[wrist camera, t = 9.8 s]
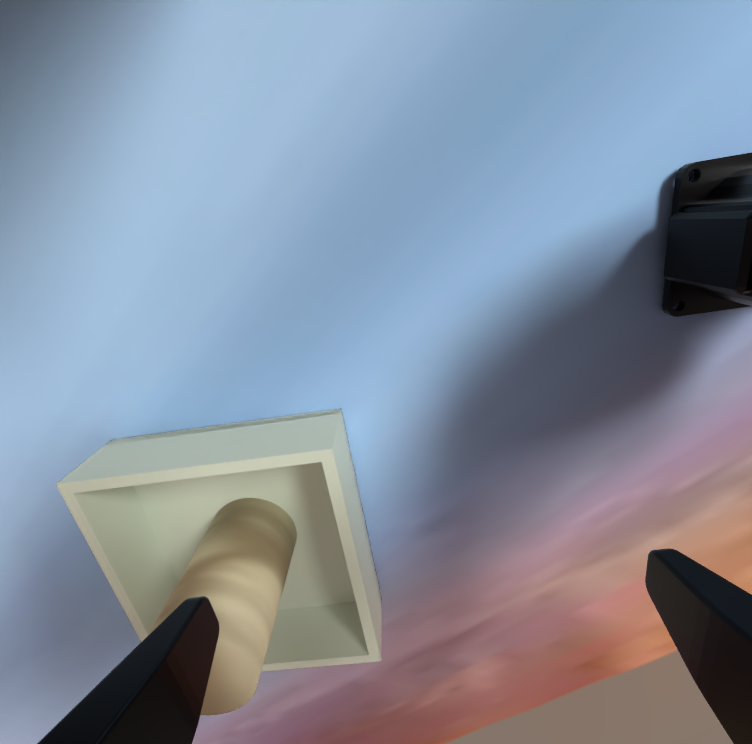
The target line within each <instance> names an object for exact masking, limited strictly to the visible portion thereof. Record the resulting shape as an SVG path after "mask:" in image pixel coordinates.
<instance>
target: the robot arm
mask: <svg viewBox="0 0 752 744" xmlns="http://www.w3.org/2000/svg"><path fill="white" fill-rule="evenodd" d="M691 171H693V172H694V177H693V179H692V180H691V182H690V181H689V180H688V175H689V173H690V172H691ZM664 276H665V284H664V294H663V304H662V308H663V311H664V312H665V313H666V314H668V315H671V316H685V315H692V314H699V313H706V312H712V311H719V310H726V309H733V308H740V307H747V306H752V153H747V154H741V155H735V156H729V157H723V158H718V159H712V160H706V161H700V162H694V163H689V164H686V165H684V166H683V167H682V168H680V169H679V171H678V172H677V174H676V178H675V186H674V196H673V206H672V216H671V219H670V220H669V228H668V238H667V248H666V258H665V268H664ZM677 301H679V305H678V307H677V308H676V309H674V308H673V307H674V304H675V303H676V302H677ZM645 582H646V588H647V591H648V593H649V595H650V597H651V599H652V601H653V603H654V605H655V607H656V609H657V611H658V613H659V615H660V617H661V618H662V620H663V622H664V624H665V626H666V628H667V630H668V632H669V634H670V636H671V638H672V639H673V641H674V643H675V645H676V647H677V649H678V651H679V653H680V655H681V657H682V659H683V661H684V662H685V664H686V666H687V668H688V670H689V672H690V673H691V675H692V677H693V679H694V681H695V683H696V684H697V686H698V688H699V689H700V691H701V693H702V694H703V696H704V698H705V699H706V701H707V702H708V704H709V705H710V707H711V708H712V710H713V712H714V713H715V715H716V717H717V718H718V720H719V721H720V723H721V724H722V726H723V728H724V729H725V731H726V732H727V734H728V735H729V737H730V738H731V740H732V742H733V743H734V744H752V595H751V594H749V593H748V592H746V591H744V590H743V589H741V588H739V587H738V586H736V585H734V584H733V583H731V582H729V581H728V580H726V579H724V578H723V577H721V576H719V575H718V574H716V573H714V572H712V571H711V570H709V569H707V568H706V567H704V566H702V565H701V564H699V563H697V562H696V561H694V560H692V559H691V558H689V557H687V556H686V555H684V554H682V553H680V552H679V551H677V550H674V549H660V550H652V551H651V552H650V553H649V555H648V562H647V570H646V579H645ZM218 637H219V621H218V619H217V617H216V614H215V612H214V609H213V607H212V605H211V602H210V600H209V599H208V598H207V597H206V596H200V597H191V598H188V599H186V600H184V601H183V602H182V603H181V604H180V605H179V606H178V607H177V608H176V609H175V610H174V611H173V612H172V613H171V614H170V615H169V616H168V617H167V618H166V619H165V620H164V621H163V622H162V623H161V624H159V625H158V626H157V627H156V628H155V629H154V630H153V631H152V632H151V633H150V634H149V635H148V636H147V637H146V638H145V639H144V640H143V641H142V642H141V643H140V644H139V645H138V646H137V647H136V648H135V649H134V650H133V651H132V652H131V653H130V654H129V655H128V656H127V657H126V658H125V659H124V660H123V661H122V662H121V663H120V664H119V665H117V666H116V667H115V668H114V669H113V670H112V671H111V672H110V673H109V674H108V675H107V676H106V677H105V678H104V679H103V680H102V681H101V682H100V683H99V684H98V685H97V686H96V687H95V688H94V689H93V690H92V691H91V692H90V693H89V694H88V695H87V696H86V697H85V698H84V699H83V700H82V701H81V702H80V703H79V704H78V705H77V706H75V707H74V708H73V709H72V710H71V711H70V712H69V713H68V714H67V715H66V716H65V717H64V718H63V719H62V720H61V721H60V722H59V723H58V724H57V725H56V726H55V727H54V728H53V729H52V730H51V731H50V732H49V733H48V734H47V735H46V736H45V737H44V738H43V739H42V740H41V741H40V742H39V743H38V744H192V741H193V738H194V735H195V732H196V728H197V725H198V722H199V718H200V714H201V710H202V706H203V702H204V698H205V693H206V689H207V685H208V680H209V676H210V672H211V667H212V663H213V659H214V654H215V650H216V646H217V641H218Z"/></svg>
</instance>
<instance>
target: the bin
mask: <svg viewBox="0 0 752 744" xmlns="http://www.w3.org/2000/svg"><path fill="white" fill-rule="evenodd" d="M56 486H57V488H58V489H59V491H60V493H61V495H62V497H63V499H64V501H65V502H66V504H67V506H68V508H69V510H70V512H71V513H72V515H73V517H74V519H75V521H76V523H77V524H78V526H79V528H80V530H81V532H82V534H83V536H84V537H85V539H86V541H87V543H88V545H89V547H90V548H91V550H92V552H93V554H94V556H95V558H96V559H97V561H98V563H99V565H100V567H101V569H102V571H103V572H104V574H105V576H106V578H107V580H108V582H109V583H110V585H111V587H112V589H113V591H114V593H115V594H116V596H117V598H118V600H119V602H120V604H121V605H122V607H123V609H124V611H125V613H126V615H127V617H128V618H129V620H130V622H131V624H132V626H133V628H134V629H135V631H136V633H137V635H138V637H139V639H140V640H141V642H142V641H143V640H144V639H145V638H146V637H147V636H148V634H149V632H150V631H151V629H152V627H153V625H154V624H155V622H156V620H157V618H158V617H159V615H160V613H161V611H162V610H163V608H164V606H165V604H166V603H167V601H168V599H169V597H170V595H171V594H172V592H173V590H174V588H175V587H176V585H177V583H178V581H179V580H180V578H181V576H182V574H183V573H184V571H185V569H186V567H187V566H188V564H189V562H190V560H191V559H192V557H193V555H194V553H195V552H196V550H197V548H198V546H199V545H200V543H201V541H202V539H203V538H204V536H205V534H206V532H207V531H208V529H209V527H210V525H211V523H212V522H213V520H214V518H215V516H216V515H217V513H218V512H219V510H220V509H221V508H222V507H223V506H225V505H226V504H228V503H230V502H232V501H234V500H237V499H242V498H259V499H263V500H267V501H270V502H272V503H274V504H276V505H278V506H279V507H281V508H282V509H283V510H285V511H286V512H287V513H288V514H289V515H290V517H291V518H292V520H293V522H294V524H295V526H296V530H297V540H296V544H295V547H294V551H293V555H292V558H291V562H290V566H289V570H288V573H287V577H286V581H285V585H284V588H283V592H282V596H281V599H280V603H279V607H278V611H277V614H276V618H275V622H274V626H273V629H272V633H271V637H270V640H269V644H268V648H267V652H266V655H265V659H264V663H263V666H262V670H261V672H263V671H274V670H286V669H298V668H309V667H321V666H332V665H344V664H356V663H367V662H379V661H381V604H382V598H381V593H380V589H379V584H378V579H377V574H376V570H375V565H374V560H373V556H372V551H371V546H370V541H369V537H368V532H367V527H366V523H365V518H364V513H363V508H362V504H361V499H360V494H359V490H358V485H357V480H356V475H355V471H354V466H353V461H352V457H351V452H350V447H349V442H348V438H347V433H346V428H345V424H344V419H343V414H342V409H334V410H327V411H319V412H312V413H305V414H297V415H290V416H282V417H275V418H268V419H260V420H253V421H246V422H238V423H231V424H224V425H216V426H209V427H202V428H194V429H187V430H179V431H172V432H165V433H157V434H150V435H143V436H135V437H128V438H121V439H113V440H110V441H109V442H108V443H107V444H105V445H104V446H103V447H102V448H100V449H99V450H98V451H97V452H95V453H94V454H93V455H92V456H90V457H89V458H88V459H87V460H85V461H84V462H83V463H82V464H80V465H79V466H78V467H77V468H75V469H74V470H73V471H72V472H70V473H69V474H68V475H67V476H65V477H64V478H63V479H62V480H60V481H59V482H58V483H57V484H56Z"/></svg>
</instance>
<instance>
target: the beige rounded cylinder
mask: <svg viewBox="0 0 752 744" xmlns="http://www.w3.org/2000/svg"><path fill="white" fill-rule="evenodd" d="M296 540H297V530H296V526H295V524H294V522H293V520H292V518H291V517H290V515H289V514H288V513H287V512H286V511H285V510H283V509H282V508H281V507H279V506H278V505H276V504H274V503H272V502H270V501H267V500H263V499H259V498H242V499H237V500H234V501H232V502H230V503H228V504H226V505H225V506H223V507H222V508H221V509H220V510H219V512H218V513H217V515H216V516H215V518H214V520H213V522H212V523H211V525H210V527H209V529H208V531H207V532H206V534H205V536H204V538H203V539H202V541H201V543H200V545H199V546H198V548H197V550H196V552H195V553H194V555H193V557H192V559H191V560H190V562H189V564H188V566H187V567H186V569H185V571H184V573H183V574H182V576H181V578H180V580H179V581H178V583H177V585H176V587H175V588H174V590H173V592H172V594H171V595H170V597H169V599H168V601H167V603H166V604H165V606H164V608H163V610H162V611H161V613H160V615H159V617H158V618H157V620H156V622H155V624H154V625H153V627H152V629H151V631H150V632H149V634H150V633H151V632H152V631H153V630H154V629H155V628H156V627H157V626H158V625H159V624H161V623H162V622H163V621H164V620H165V619H166V618H167V617H168V616H169V615H170V614H171V613H172V612H173V611H174V610H175V609H176V608H177V607H178V606H179V605H180V604H181V603H182V602H183V601H184V600H186V599H188V598H191V597H200V596H206V597H207V598H208V599H209V600H210V602H211V605H212V607H213V609H214V612H215V614H216V617H217V619H218V621H219V637H218V641H217V646H216V650H215V654H214V659H213V663H212V667H211V672H210V676H209V680H208V685H207V689H206V693H205V698H204V702H203V706H202V710H201V714H200V715H217V714H223V713H227V712H231V711H233V710H236V709H238V708H240V707H242V706H243V705H245V704H246V703H247V702H248V701H249V700H250V699H251V698H252V697H253V695H254V694H255V692H256V689H257V685H258V681H259V678H260V674H261V670H262V666H263V663H264V659H265V655H266V652H267V648H268V644H269V640H270V637H271V633H272V629H273V626H274V622H275V618H276V614H277V611H278V607H279V603H280V599H281V596H282V592H283V588H284V585H285V581H286V577H287V573H288V570H289V566H290V562H291V558H292V555H293V551H294V547H295V544H296ZM149 634H148V635H149Z"/></svg>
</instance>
